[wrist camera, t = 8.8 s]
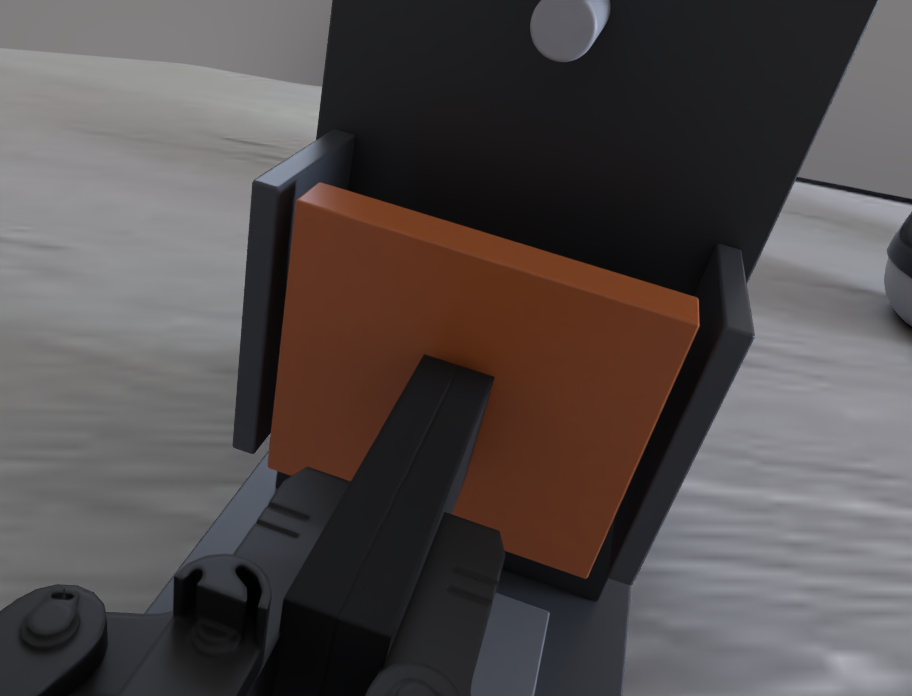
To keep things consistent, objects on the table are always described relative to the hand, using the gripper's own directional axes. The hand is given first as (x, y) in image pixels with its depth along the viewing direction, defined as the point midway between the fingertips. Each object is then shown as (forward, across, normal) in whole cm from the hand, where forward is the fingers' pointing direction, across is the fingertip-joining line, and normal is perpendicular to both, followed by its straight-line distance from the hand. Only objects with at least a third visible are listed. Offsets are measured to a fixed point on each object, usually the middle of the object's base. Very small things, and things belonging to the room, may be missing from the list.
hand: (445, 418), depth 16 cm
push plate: (+1, 0, -3) cm, 4 cm away
